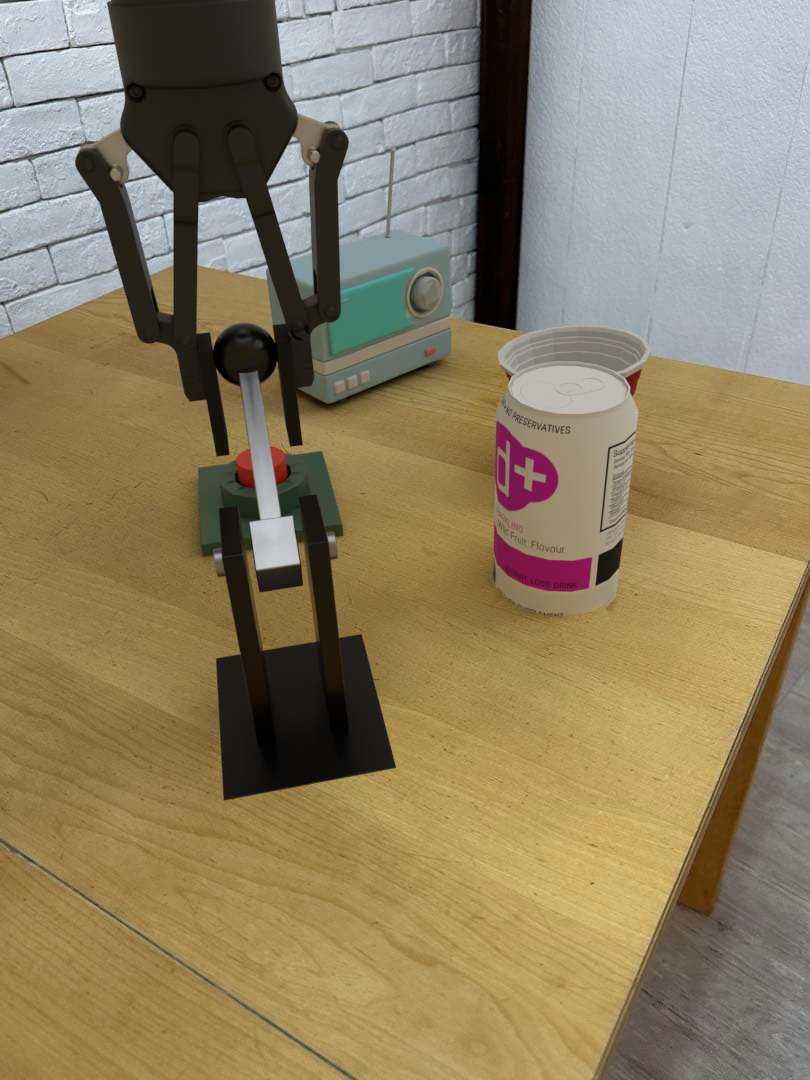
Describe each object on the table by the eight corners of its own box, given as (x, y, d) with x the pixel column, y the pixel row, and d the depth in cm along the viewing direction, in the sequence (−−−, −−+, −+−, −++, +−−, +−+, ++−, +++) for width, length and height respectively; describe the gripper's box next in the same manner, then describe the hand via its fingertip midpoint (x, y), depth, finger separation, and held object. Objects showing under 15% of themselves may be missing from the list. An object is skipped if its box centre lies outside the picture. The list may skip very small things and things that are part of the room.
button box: (202, 490, 73) (193, 447, 71) (324, 473, 75) (320, 430, 72) (205, 569, 64) (196, 523, 62) (344, 548, 66) (340, 502, 64)
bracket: (218, 672, 56) (177, 480, 48) (363, 648, 57) (346, 456, 49) (226, 815, 47) (177, 608, 39) (397, 782, 48) (383, 576, 40)
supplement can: (532, 645, 56) (544, 432, 48) (472, 573, 63) (473, 373, 54) (641, 608, 59) (671, 399, 50) (573, 542, 65) (589, 347, 57)
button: (238, 469, 69) (234, 449, 68) (285, 462, 69) (282, 442, 68) (240, 493, 66) (237, 473, 65) (290, 486, 66) (287, 466, 65)
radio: (335, 417, 83) (314, 190, 71) (279, 387, 89) (251, 173, 77) (460, 365, 91) (459, 154, 80) (401, 341, 97) (392, 141, 85)
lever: (214, 356, 53) (205, 312, 50) (275, 348, 54) (270, 305, 51) (246, 600, 46) (239, 567, 42) (317, 589, 46) (315, 555, 43)
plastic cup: (536, 443, 77) (542, 308, 71) (656, 477, 72) (675, 334, 65) (468, 501, 70) (468, 357, 64) (596, 543, 65) (611, 391, 58)
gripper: (-19, -1, 37) (112, 491, 50) (386, -25, 39) (407, 451, 52) (9, -12, 43) (119, 429, 56) (357, -33, 45) (383, 395, 58)
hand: (258, 439), depth 54 cm, fingers closed on lever, 4 cm apart
